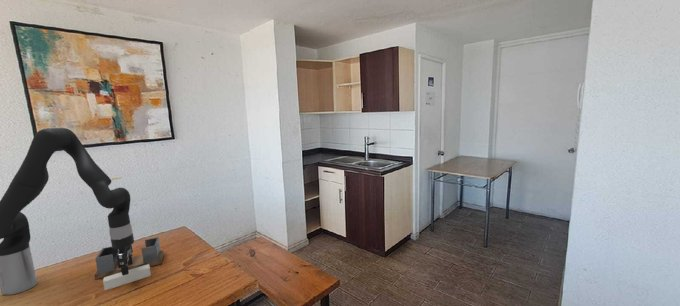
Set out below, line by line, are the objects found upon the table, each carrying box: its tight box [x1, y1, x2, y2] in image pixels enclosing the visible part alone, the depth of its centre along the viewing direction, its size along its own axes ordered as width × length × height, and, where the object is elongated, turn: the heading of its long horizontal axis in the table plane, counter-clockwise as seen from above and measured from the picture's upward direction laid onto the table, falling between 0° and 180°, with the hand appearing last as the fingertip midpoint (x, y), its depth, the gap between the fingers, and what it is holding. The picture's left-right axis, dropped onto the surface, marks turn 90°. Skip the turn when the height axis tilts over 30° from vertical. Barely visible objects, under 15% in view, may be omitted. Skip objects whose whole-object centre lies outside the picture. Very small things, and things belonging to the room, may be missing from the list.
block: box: [102, 264, 152, 291], centre depth 120 cm, size 16×4×4 cm, turn 128°
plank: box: [94, 249, 165, 280], centre depth 132 cm, size 25×11×2 cm, turn 118°
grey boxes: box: [95, 236, 162, 274], centre depth 131 cm, size 23×11×8 cm, turn 118°
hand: (127, 269), depth 119 cm, fingers open, 8 cm apart
